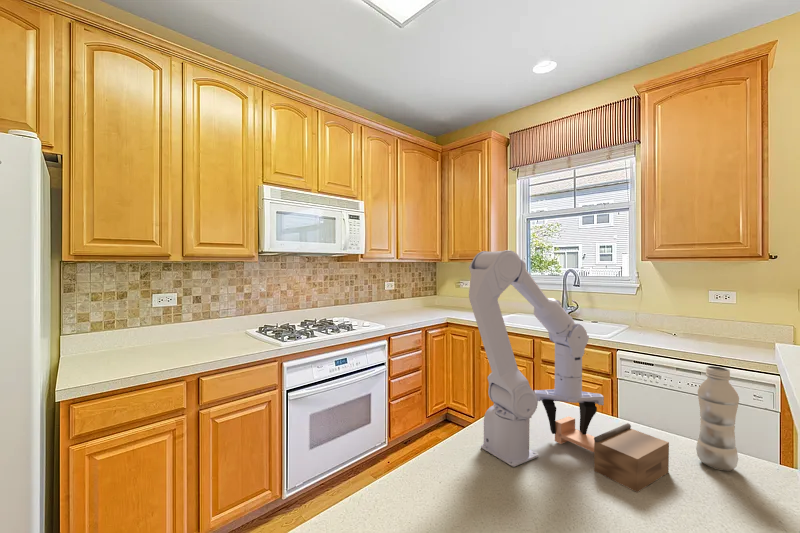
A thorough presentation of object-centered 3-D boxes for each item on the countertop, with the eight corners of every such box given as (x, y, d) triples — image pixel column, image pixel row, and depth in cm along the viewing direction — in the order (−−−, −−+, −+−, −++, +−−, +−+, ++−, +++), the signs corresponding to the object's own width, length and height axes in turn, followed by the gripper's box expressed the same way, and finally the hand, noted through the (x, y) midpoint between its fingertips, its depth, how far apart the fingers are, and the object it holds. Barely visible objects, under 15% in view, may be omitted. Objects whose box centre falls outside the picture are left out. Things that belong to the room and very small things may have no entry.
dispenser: (593, 470, 74) (593, 436, 74) (625, 454, 80) (626, 422, 80) (637, 492, 67) (637, 454, 67) (668, 472, 73) (668, 437, 73)
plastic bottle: (720, 458, 79) (722, 364, 78) (747, 476, 72) (749, 373, 72) (688, 456, 79) (689, 363, 79) (711, 474, 72) (713, 372, 72)
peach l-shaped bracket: (554, 441, 85) (555, 421, 85) (568, 435, 88) (568, 416, 88) (616, 469, 73) (616, 446, 73) (630, 462, 76) (630, 440, 76)
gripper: (538, 377, 82) (538, 438, 83) (609, 381, 80) (608, 444, 80) (532, 368, 89) (532, 424, 90) (597, 371, 87) (597, 429, 87)
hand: (567, 433), depth 85 cm, fingers closed on peach l-shaped bracket, 6 cm apart
